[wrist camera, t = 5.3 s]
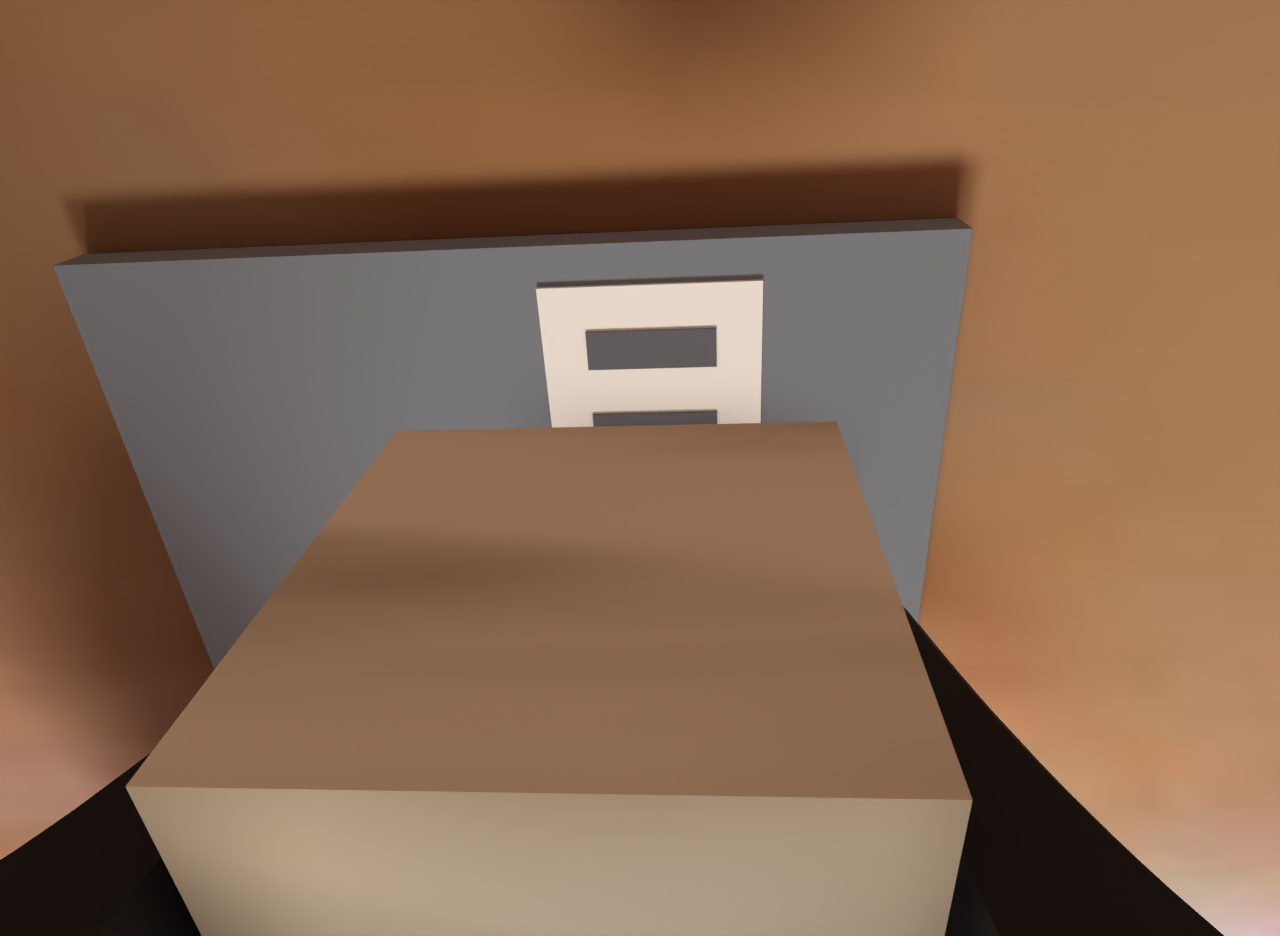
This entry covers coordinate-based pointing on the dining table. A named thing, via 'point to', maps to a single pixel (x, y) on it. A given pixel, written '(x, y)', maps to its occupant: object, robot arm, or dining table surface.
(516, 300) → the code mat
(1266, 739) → the dining table surface
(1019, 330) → the dining table surface
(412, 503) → the maple block
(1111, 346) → the dining table surface
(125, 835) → the robot arm
